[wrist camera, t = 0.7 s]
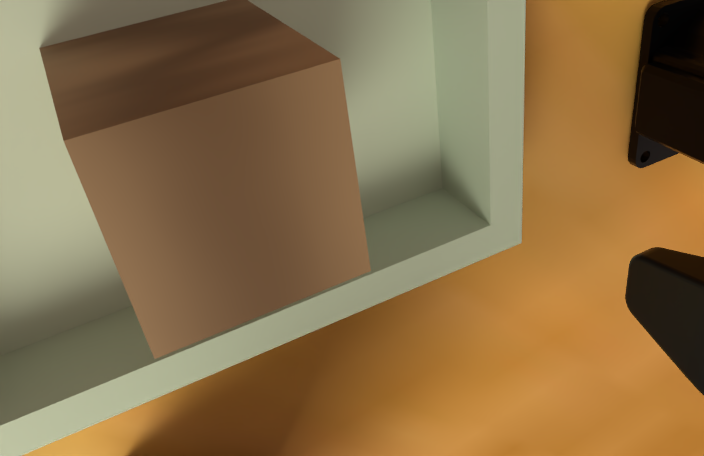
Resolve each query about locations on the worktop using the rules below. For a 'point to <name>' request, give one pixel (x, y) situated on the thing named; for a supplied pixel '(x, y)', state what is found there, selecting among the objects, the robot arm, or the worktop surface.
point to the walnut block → (212, 165)
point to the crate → (372, 172)
